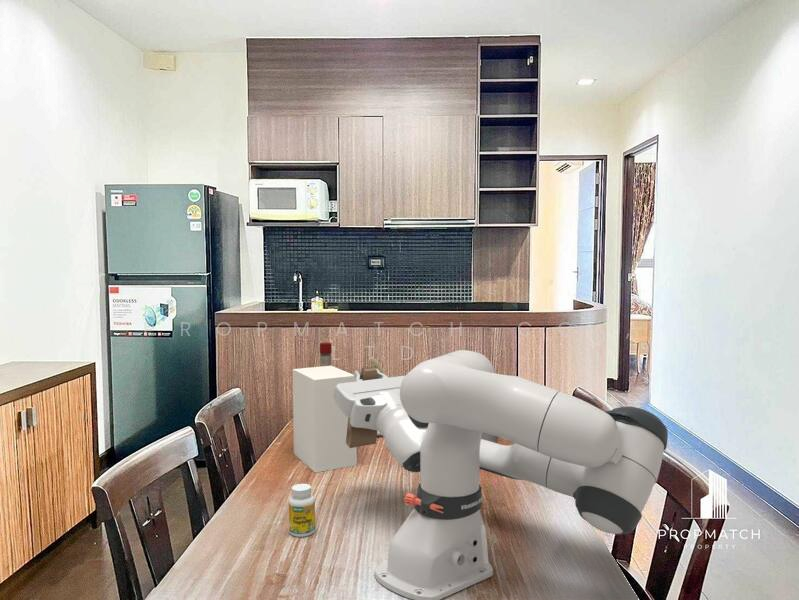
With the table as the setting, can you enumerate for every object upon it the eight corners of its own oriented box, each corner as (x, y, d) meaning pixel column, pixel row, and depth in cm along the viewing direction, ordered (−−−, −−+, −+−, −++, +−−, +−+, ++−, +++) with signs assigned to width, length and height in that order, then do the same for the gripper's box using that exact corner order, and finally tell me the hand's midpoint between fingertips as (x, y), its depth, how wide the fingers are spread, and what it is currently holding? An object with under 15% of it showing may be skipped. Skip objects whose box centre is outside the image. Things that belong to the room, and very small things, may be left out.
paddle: (384, 369, 142) (379, 364, 144) (357, 371, 138) (353, 367, 140) (375, 443, 148) (371, 438, 150) (349, 448, 144) (345, 442, 146)
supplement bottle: (314, 525, 128) (313, 481, 128) (316, 536, 123) (315, 490, 122) (288, 527, 127) (287, 483, 126) (289, 539, 122) (289, 492, 121)
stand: (356, 465, 165) (355, 375, 164) (315, 472, 160) (314, 379, 158) (332, 447, 181) (331, 365, 180) (293, 453, 176) (292, 369, 174)
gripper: (432, 394, 136) (406, 357, 147) (350, 405, 127) (328, 365, 137) (425, 415, 140) (400, 377, 150) (345, 428, 130) (323, 387, 140)
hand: (365, 371), depth 143 cm, fingers closed on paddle, 3 cm apart
